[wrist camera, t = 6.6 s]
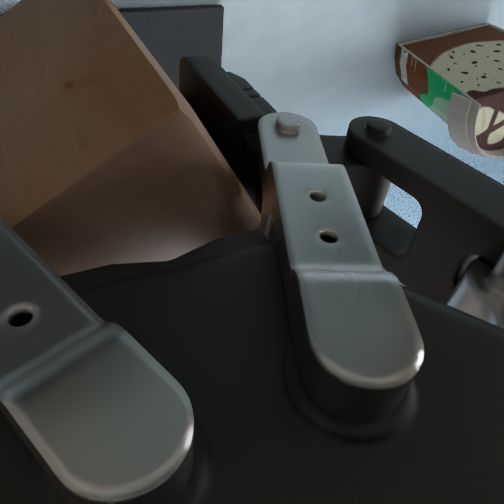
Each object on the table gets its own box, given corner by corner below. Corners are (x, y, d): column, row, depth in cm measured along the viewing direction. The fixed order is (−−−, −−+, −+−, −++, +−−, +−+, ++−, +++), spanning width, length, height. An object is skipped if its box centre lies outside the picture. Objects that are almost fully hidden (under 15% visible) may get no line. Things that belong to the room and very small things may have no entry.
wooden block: (76, -47, 12) (187, 98, 7) (162, 81, 15) (282, 246, 10) (-54, 48, 12) (-42, 261, 7) (58, 155, 15) (123, 355, 10)
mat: (-236, 26, 21) (-238, 30, 21) (220, 4, 29) (224, 7, 29) (-117, 229, 29) (-117, 234, 29) (213, 168, 37) (216, 171, 37)
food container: (367, 118, 41) (446, 183, 35) (380, 47, 37) (473, 106, 30) (477, 88, 45) (566, 142, 38) (501, 19, 40) (606, 68, 34)
